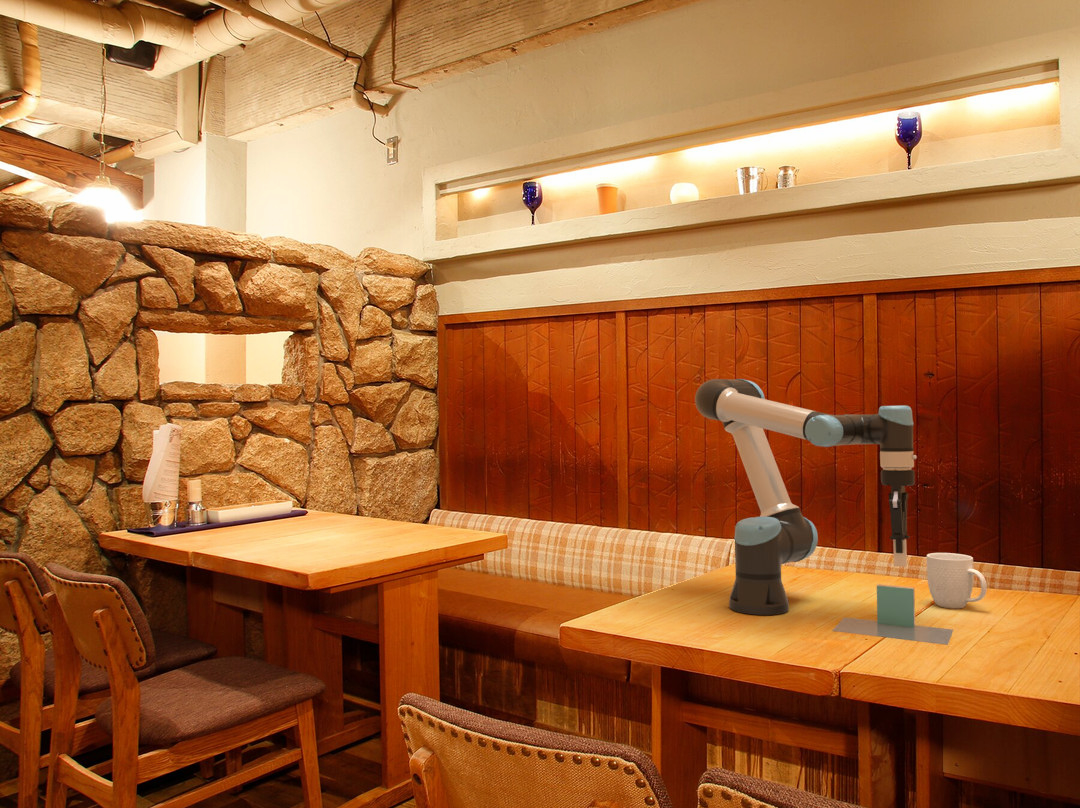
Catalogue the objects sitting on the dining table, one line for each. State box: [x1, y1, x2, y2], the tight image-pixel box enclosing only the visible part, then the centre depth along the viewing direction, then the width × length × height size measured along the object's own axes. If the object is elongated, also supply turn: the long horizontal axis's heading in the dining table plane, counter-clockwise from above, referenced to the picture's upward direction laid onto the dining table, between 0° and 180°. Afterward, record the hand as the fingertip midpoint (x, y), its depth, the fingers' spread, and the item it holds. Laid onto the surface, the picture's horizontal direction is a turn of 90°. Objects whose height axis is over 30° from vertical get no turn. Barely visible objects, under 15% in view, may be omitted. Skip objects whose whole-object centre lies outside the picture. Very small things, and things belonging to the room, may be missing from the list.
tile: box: [876, 583, 916, 628], centre depth 193 cm, size 8×2×9 cm, turn 59°
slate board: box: [831, 616, 954, 646], centre depth 188 cm, size 24×14×1 cm, turn 59°
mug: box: [926, 552, 988, 609], centre depth 213 cm, size 15×11×13 cm
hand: (900, 565), depth 198 cm, fingers closed
